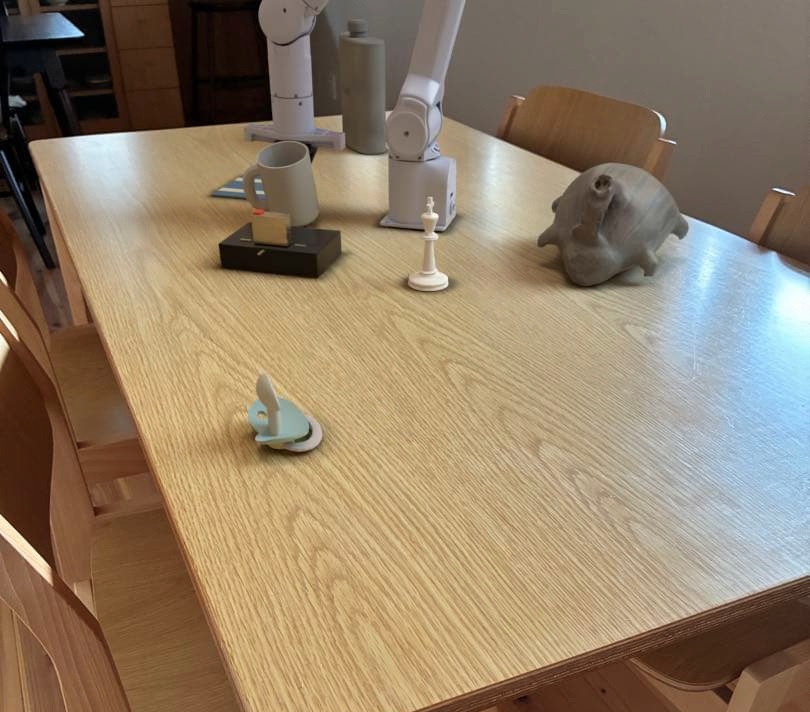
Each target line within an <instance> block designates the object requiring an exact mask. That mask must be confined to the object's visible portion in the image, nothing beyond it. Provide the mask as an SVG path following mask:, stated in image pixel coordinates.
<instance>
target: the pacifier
mask: <svg viewBox="0 0 810 712" xmlns="http://www.w3.org/2000/svg"><path fill="white" fill-rule="evenodd" d="M255 391H256V395H257V399H255V400H254V401H253V402H252V403H251V404H250V405H249V408H248V409H247V410H248V411H247V420H248V422H249V425H250V427H251V428H252V429H253V430H254V431H255V432H256V433H258V434H256V436H255V437H254V440H255V443H256V444H258V445H268V446H269V447H270V448H272V449H275V450H287V451H291V452H298V453H300V452H308V451H311V450H313V449H314V448H316V447H317V446H318V445H319V444H320V443H321V441H322V439H323V430H322V427H321V425H320V424H319V422H318V420H316V419H315V418H314V417H313V416H310V415H309V414H306V413H303V411H302V410H301V409H300V408H299V407H298V406H297V405H296V404H294V403H293V402H291V401H290V400H289V399H286V398H284V397H279V396H278V395H277V393H276V390H275V388H274V385H273V383H272V380H271V379H270V377H269V376H268V374H267V373H266V372H264V373H262V374H260V375H259V376H258V378H257V380H256V384H255ZM259 415H264V416H265V418H259V417H258V416H259ZM309 431H311V433H312V434H311V435H310V437H309V438H308V439H307V440H305V441H300V442H295V440H298V439H301V438H303V437H305V436H306V435H308V433H309Z"/></svg>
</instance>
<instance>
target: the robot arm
mask: <svg viewBox="0 0 810 712" xmlns="http://www.w3.org/2000/svg"><path fill="white" fill-rule="evenodd" d="M466 1H467V0H424V3H423V9H422V13H421V18H420V20H419V21H420V22H419V25H418V30H417V32H416V33H417V34H416V37H415V43H414V47H413V51H412V55H411V59H410V63H409V67H408V72H407V75H406V78H405V79H404V83H403V84H402V87H401V89H400V92H399V96H398V100H397V102H396V106H395V107H394V109H393V110H392V112H391V113H390V114H389V115H388V116H387V117H386V123H385V127H384V136H385V140H386V146H387V147H388V150H387V160H388V161H387V163H388V165H387V166H388V171H387V172H388V173H387V174H388V177H387V178H388V179H387V181H388V213H387V214H386V215H385V216H384V217H383V218H382V219H381V220H380V221H379V225H380V226H382V227H393V228H403V229H414V230H424V231H425V229H424V225H423V222H422V219H421V215H422V214H424V213H427V212H428V209H426V205H427V204H428V197H433V202H434V206H433V207H432V212H433V213H436V214H437V215H438V216H439V217H438V221H437V223H436V227H435V230H434V232H436V231H437V232H444V231H446V230H447V228H448V227H449V225H450V224H451V223H452V221H453V220H454V219H455V217H456V215H457V212H456V197H457V176H458V175H457V173H458V171H457V161H456V159H455V158H454V157H450V156H444V155H442V154H441V148H440V146H439V144H438V142H437V140H436V139H437V137H438V136H439V135H440V133H441V131H442V130H443V125H444V115H443V109H442V108H443V107H442V105H443V99H444V95H445V79H446V76H447V72H448V69H449V65H450V62H451V57H452V54H453V50H454V47H455V42H456V39H457V34H458V32H459V28H460V24H461V20H462V17H463V12H464V9H465V4H466ZM329 2H330V0H261V2H260V4H259V9H258V22H259V26H260V28H261V30H262V32H263V34H264V36H265V37H266V43H267V44H266V45H267V61H268V75H269V89H270V101H271V112H272V113H271V114H272V124H261V123H260V124H257V123H248V124H246V125H244V126H243V134H244V142H246V143H252V142H261V143H262V142H263V143H270V144H274V143H277V142H282V141H296V142H300V143H303V144H304V145H306V146H307V147H308V150H309V155H310V161H311V165H313V162H314V159H315V157H316V154H317V151H318V149H319V148H322V149H331V150H334V151H339V152H341V151H343V150H344V149H345V148H346V143H345V133H343V131H342V132H341V131H335V130H330V129H325V128H320V127H315V114H314V111H315V110H314V94H313V92H314V91H313V70H312V69H313V68H312V54H311V37H310V34H311V33H312V31H314V27H315V26H316V21H317V15H320V13H321V12H322V11H323V9H324V8H325V7H326V6H327V4H328V3H329Z"/></svg>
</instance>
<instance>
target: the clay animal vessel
mask: <svg viewBox="0 0 810 712" xmlns="http://www.w3.org/2000/svg"><path fill="white" fill-rule="evenodd" d="M551 211H552V213H553V214H554V218H553V221H552V223H551V224H550V225H549V227H547V228H546V229H545V230H544V231H542V232H541V233H540V234H539V236H538V238H537V248H544V247H546V246H549V245H551V246H556V247H557V249H558V251H559V252H560V254H561V255H562V258H563V266H564V268H565V271H566V273H567V275H568V277H569V279H570V280H571V281H572V282H574V283H575V285H578V286H582V287H589V286H594V285H598V284H601V283H605V282H606V281H608V280H610V279H611V278H612V277H614V276H615V275H617V274H620V273H622V272H626V271H628V270H629V269H633V268H634V267H636V266H637V267H640V268H641V269H642V270H643V277H644V278H646V277H654V275H655V274H656V273H657V272H658V270H659V268H660V262H659V259H658V256H657V254H656V252H657V251H659V250H660V248H661V247H662V246H663V244H664V243H665V242H666V240H667V239H668V237H669V236H670V235H675V236H676V237H677V238H678V240H681V241H682V240H683V239H684V238H685V237H686V236H687V234H688V232H689V230H690V226H689V223H688V221H687V220H686V219H685V218H684V216H683V215H682V213H681V212H680V210H679V207H678V204H677V202H676V200H675V199H674V197H673V196H672V194H671V193H670V191H669V190H668V189H667V188H666V186H664V184H662V183H661V181H659V179H657V178H656V177H654V175H652V174H651V173H650V172H648V171H647V170H644V169H643V168H640V167H638V166H635V165H631V164H626V163H618V162H605V163H601V164H598V165H595V166H593V167H590V168H588V169H586V170H585V171H583V172H581V173H580V174H579V175H578V176H577V177H575V178H574V179H573V181H571V183H570V184H569V185H568V186H567V187H566V188H565V190H564V192H563V193H562V195H560V196H559V197H557V198H555V199H554V200H553V202H552V204H551Z"/></svg>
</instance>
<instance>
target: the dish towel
mask: <svg viewBox="0 0 810 712" xmlns="http://www.w3.org/2000/svg"><path fill="white" fill-rule="evenodd" d="M243 175H244V174H242V175H240V176H238V177H237V178H235V179H234V180H233V181H230V182H229V183H228V184H225V185H224V186H223V187H221V188H219V189H217V190H216V191H214V192H213V193H212V194H211V197H215V198H217V197H218V198H228V199H238V200H247V198H246V196H245V194H244V190H243V182H242V180H243ZM254 187H255V191H256V194H257V196H258V197H259V198H260V199H262V200H266V197H265V193H264V189H263V185H262V181H261V178H260V177H256V178H255V179H254Z"/></svg>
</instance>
